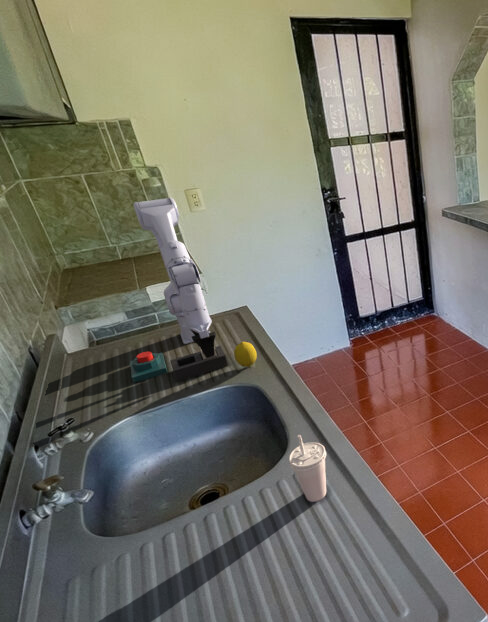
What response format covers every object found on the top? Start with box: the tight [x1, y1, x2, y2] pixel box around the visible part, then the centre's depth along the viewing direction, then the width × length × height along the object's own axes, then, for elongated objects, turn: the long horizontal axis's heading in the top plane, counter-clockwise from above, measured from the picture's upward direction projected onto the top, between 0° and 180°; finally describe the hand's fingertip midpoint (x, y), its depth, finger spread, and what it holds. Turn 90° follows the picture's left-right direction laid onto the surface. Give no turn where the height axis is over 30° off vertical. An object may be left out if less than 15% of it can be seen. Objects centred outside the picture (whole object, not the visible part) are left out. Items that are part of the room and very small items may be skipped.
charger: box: [198, 346, 217, 359], centre depth 128 cm, size 3×3×7 cm
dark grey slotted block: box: [170, 345, 229, 382], centre depth 128 cm, size 7×13×4 cm, turn 126°
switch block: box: [129, 352, 168, 384], centre depth 128 cm, size 11×8×4 cm
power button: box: [135, 351, 153, 363], centre depth 127 cm, size 4×4×2 cm
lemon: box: [233, 341, 258, 368], centre depth 126 cm, size 6×6×8 cm
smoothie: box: [288, 434, 327, 503], centre depth 82 cm, size 6×6×14 cm
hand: (207, 350), depth 128 cm, fingers open, 7 cm apart
